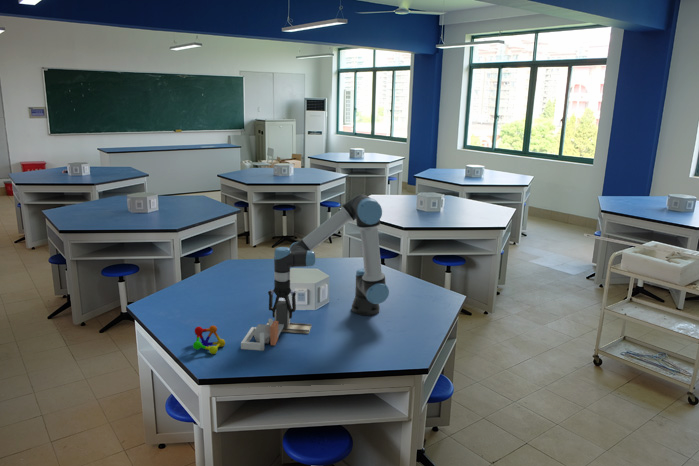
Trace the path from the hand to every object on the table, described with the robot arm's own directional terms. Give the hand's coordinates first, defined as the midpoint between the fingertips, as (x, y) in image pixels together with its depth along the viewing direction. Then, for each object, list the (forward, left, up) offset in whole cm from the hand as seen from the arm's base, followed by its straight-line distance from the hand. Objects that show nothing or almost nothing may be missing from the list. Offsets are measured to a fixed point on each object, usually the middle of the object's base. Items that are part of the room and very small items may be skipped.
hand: (282, 323), depth 254 cm
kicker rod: (0, +9, -2) cm, 9 cm away
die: (+5, +16, -3) cm, 17 cm away
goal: (+8, +16, -2) cm, 18 cm away
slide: (-3, 0, -2) cm, 4 cm away
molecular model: (+28, +27, -3) cm, 39 cm away
